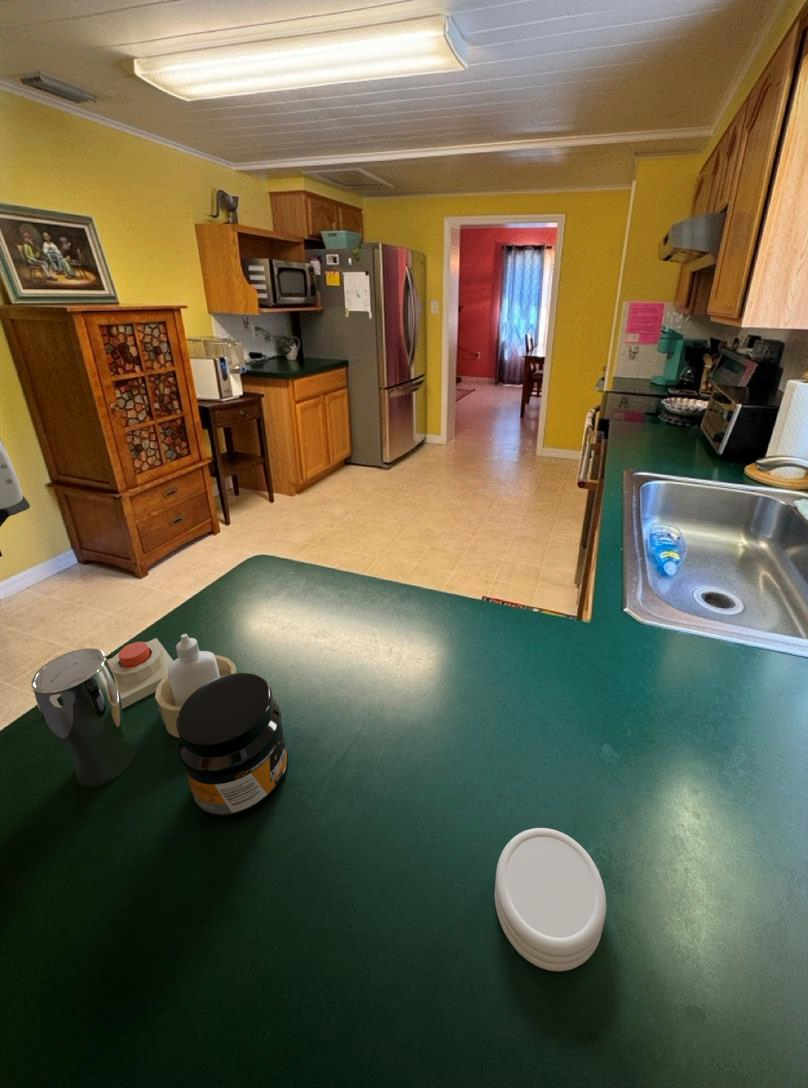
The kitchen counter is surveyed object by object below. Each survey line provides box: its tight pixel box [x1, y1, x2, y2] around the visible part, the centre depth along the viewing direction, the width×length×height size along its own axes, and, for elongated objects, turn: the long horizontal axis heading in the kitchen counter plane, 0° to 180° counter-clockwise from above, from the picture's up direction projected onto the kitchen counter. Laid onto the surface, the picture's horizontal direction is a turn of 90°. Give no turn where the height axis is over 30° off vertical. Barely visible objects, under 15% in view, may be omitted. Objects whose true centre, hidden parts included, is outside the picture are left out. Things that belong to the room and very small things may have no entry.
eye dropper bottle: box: [168, 633, 220, 706], centre depth 63 cm, size 4×6×12 cm
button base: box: [107, 637, 174, 710], centre depth 70 cm, size 10×8×4 cm
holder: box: [154, 654, 238, 738], centre depth 64 cm, size 10×10×5 cm
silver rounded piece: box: [30, 647, 137, 788], centre depth 55 cm, size 7×7×15 cm
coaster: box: [494, 827, 607, 972], centre depth 44 cm, size 10×10×4 cm
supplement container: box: [176, 672, 289, 821], centre depth 53 cm, size 10×10×12 cm
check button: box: [118, 641, 150, 668], centre depth 69 cm, size 4×4×2 cm
